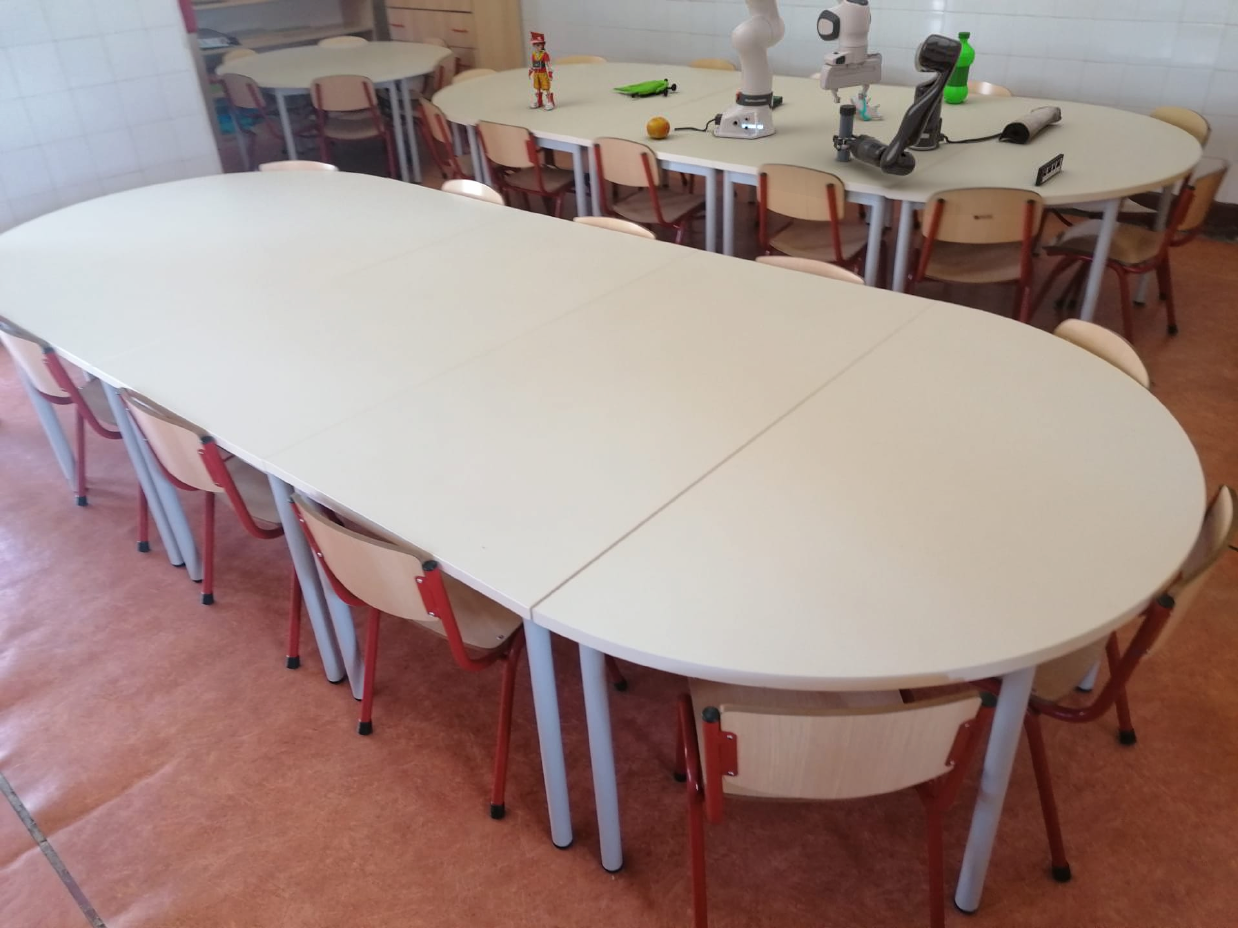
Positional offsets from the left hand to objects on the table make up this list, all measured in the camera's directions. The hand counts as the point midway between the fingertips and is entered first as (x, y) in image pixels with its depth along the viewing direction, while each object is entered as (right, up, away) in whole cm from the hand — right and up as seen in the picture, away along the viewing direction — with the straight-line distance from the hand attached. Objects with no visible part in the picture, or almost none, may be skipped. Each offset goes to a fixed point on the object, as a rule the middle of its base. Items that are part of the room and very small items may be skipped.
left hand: (849, 101), depth 290 cm
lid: (0, -2, +1) cm, 2 cm away
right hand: (0, -8, +9) cm, 12 cm away
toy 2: (-65, +47, +107) cm, 134 cm away
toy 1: (-107, +35, +93) cm, 146 cm away
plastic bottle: (+58, +26, +65) cm, 91 cm away
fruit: (-60, +5, +45) cm, 75 cm away
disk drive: (-16, +28, +74) cm, 81 cm away
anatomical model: (+20, +16, +54) cm, 60 cm away
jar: (+1, -15, +11) cm, 19 cm away
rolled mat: (+70, -1, +25) cm, 74 cm away
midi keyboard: (+57, -30, -15) cm, 66 cm away
